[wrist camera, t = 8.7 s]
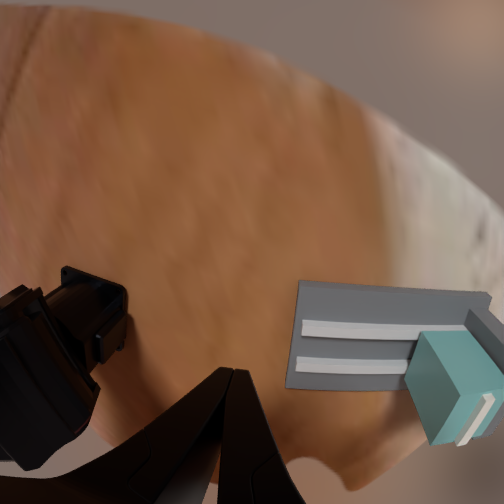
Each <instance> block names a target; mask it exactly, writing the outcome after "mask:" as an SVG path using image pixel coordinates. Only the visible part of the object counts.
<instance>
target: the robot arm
mask: <svg viewBox="0 0 504 504" xmlns="http://www.w3.org/2000/svg"><path fill="white" fill-rule="evenodd" d="M66 272H67V273H66ZM117 289H118V290H119V291H120V293H119V292H118V290H117ZM125 338H126V312H125V288H124V287H123V286H122V285H120V284H117V283H114V282H111V281H108V280H105V279H103V278H100V277H97V276H94V275H91V274H88V273H86V272H83V271H80V270H77V269H75V268H72V267H69V266H64V267H63V268H62V269H61V285H60V286H59V287H58V288H56V289H55V290H53V291H52V292H50V293H49V294H47V295H46V296H43V292H42V290H41V288H40V287H38V288H36V289H34V290H32V288H31V289H28V288H27V287H26V286H24V285H23V284H22V285H20V286H18V287H17V288H15V289H14V290H12V291H10V292H9V293H7V294H6V295H4V296H2V297H1V298H0V462H2V461H3V462H5V461H6V462H8V461H15V462H16V463H17V464H18V465H19V466H20V467H21V468H22V469H23V470H24V471H30V470H34V469H38V468H40V467H41V466H42V465H43V464H44V463H45V462H46V461H47V460H48V459H49V458H50V457H51V455H53V454H54V453H55V452H56V451H57V450H58V449H60V448H61V447H62V446H64V445H65V444H67V443H69V442H71V441H73V440H74V439H76V438H77V437H78V436H79V435H81V434H82V432H83V431H84V430H85V429H86V428H87V426H88V424H89V422H90V419H91V416H92V413H93V410H94V407H95V404H96V401H97V398H98V395H99V392H100V389H101V388H100V386H99V385H98V384H97V382H95V381H94V380H93V378H92V377H91V376H90V373H91V371H92V370H93V369H94V368H95V367H96V365H97V364H98V363H99V364H104V363H106V361H107V360H108V359H109V358H110V356H111V355H112V354H113V353H114V351H115V350H117V351H121V350H122V349H123V348H124V339H125ZM220 451H221V456H220V469H219V483H218V498H217V504H306V503H305V501H304V500H303V498H302V496H301V495H300V493H299V491H298V490H297V488H296V486H295V485H294V483H293V481H292V479H291V477H290V475H289V473H288V471H287V468H286V466H285V464H284V462H283V459H282V457H281V454H280V453H279V449H278V447H277V444H276V442H275V439H274V437H273V434H272V431H271V429H270V426H269V423H268V421H267V418H266V416H265V413H264V410H263V408H262V405H261V402H260V399H259V397H258V394H257V391H256V389H255V386H254V383H253V380H252V378H251V375H250V372H249V371H248V370H243V369H235V370H234V369H233V368H227V367H219V368H218V369H216V370H215V371H214V372H213V373H212V374H210V375H209V376H208V377H207V378H206V379H204V380H203V381H202V382H201V383H200V384H198V385H197V386H196V387H195V388H194V389H192V390H191V391H190V392H189V393H187V394H186V395H185V396H184V397H183V398H181V399H180V400H179V401H178V402H176V403H175V404H174V405H173V406H171V407H170V408H169V409H168V410H166V411H165V412H164V413H162V414H161V415H160V416H159V417H157V418H156V419H155V420H153V421H152V422H151V423H150V424H148V425H147V426H146V427H144V430H143V429H142V430H140V431H139V432H138V433H136V434H135V435H134V436H132V437H131V438H129V439H128V440H126V441H125V442H124V443H122V444H121V445H119V446H117V447H116V448H114V449H113V450H111V451H109V452H107V453H106V454H104V455H102V456H100V457H98V458H96V459H94V460H93V461H91V462H89V463H87V464H85V465H83V466H81V467H79V468H77V469H75V470H73V471H71V472H69V473H66V474H64V475H61V476H58V477H53V478H46V479H37V478H21V477H10V476H0V504H202V501H203V499H204V496H205V493H206V490H207V488H208V485H209V482H210V479H211V477H212V474H213V471H214V468H215V465H216V463H217V460H218V457H219V454H220Z"/></svg>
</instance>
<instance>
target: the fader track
mask: <svg viewBox="0 0 504 504" xmlns="http://www.w3.org/2000/svg"><path fill="white" fill-rule="evenodd" d="M491 299H492V297H491V296H490V295H489V294H488V293H487V292H472V291H452V290H433V289H416V288H400V287H384V286H370V285H356V284H342V283H329V282H316V281H304V280H299V284H298V293H297V301H296V309H295V317H294V324H293V332H292V339H291V346H290V353H289V360H288V366H287V373H286V379H285V388H294V389H310V390H335V391H387V390H409V389H408V387H407V384H406V382H405V380H404V378H405V375H406V373H407V370H408V368H409V365H410V362H411V360H412V357H413V354H414V352H415V349H416V346H417V343H418V340H419V337H420V334H421V331H469V332H470V333H471V334H472V336H473V337H474V338H475V339H476V341H477V342H478V343H479V344H480V345H481V347H482V348H483V349H484V350H485V352H486V353H487V354H488V355H489V357H490V358H491V359H492V361H493V362H494V363H495V364H496V366H497V367H498V368H499V370H500V371H501V372H502V374H503V375H504V325H503V324H502V323H501V322H500V321H499V320H498V319H497V318H496V317H495V316H494V315H493V314H492V313H491V312H490V311H489V310H488V308H489V305H490V302H491ZM503 417H504V401H503V403H502V405H501V406H500V408H499V410H498V411H497V413H496V414H495V416H494V417H493V419H492V420H491V422H490V423H489V425H488V426H487V428H486V429H485V431H484V432H483V434H482V435H481V436H477V437H473V438H472V440H474V439H478V438H482V437H486V436H490V435H491V434H492V433H493V432H494V430H495V429H496V427H497V426H498V424H499V423H500V422H501V420H502V419H503Z"/></svg>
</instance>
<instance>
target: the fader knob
mask: <svg viewBox="0 0 504 504" xmlns="http://www.w3.org/2000/svg"><path fill="white" fill-rule="evenodd" d="M404 380H405V382H406V384H407V387H408V389H409V392H410V394H411V397H412V399H413V402H414V404H415V407H416V409H417V412H418V414H419V417H420V420H421V422H422V425H423V428H424V430H425V433H426V436H427V438H428V441H429V444H430V446H432V445H438V444H444V443H449V442H454V441H455V444H456V446H461V445H465V444H467V442H468V441H469V440H470V438H473V437H477V436H481V435H482V434H483V432H484V431H485V429H486V428H487V426H488V425H489V423H490V422H491V420H492V419H493V417H494V416H495V414H496V413H497V411H498V410H499V408H500V406H501V405H502V403H503V401H504V375H503V374H502V372H501V371H500V370H499V368H498V367H497V366H496V364H495V363H494V362H493V361H492V359H491V358H490V357H489V355H488V354H487V353H486V352H485V350H484V349H483V348H482V347H481V345H480V344H479V343H478V342H477V341H476V339H475V338H474V337H473V336H472V334H471V333H470V332H469V331H421V334H420V337H419V340H418V343H417V346H416V349H415V352H414V354H413V357H412V360H411V362H410V365H409V368H408V370H407V373H406V375H405V378H404Z"/></svg>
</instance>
